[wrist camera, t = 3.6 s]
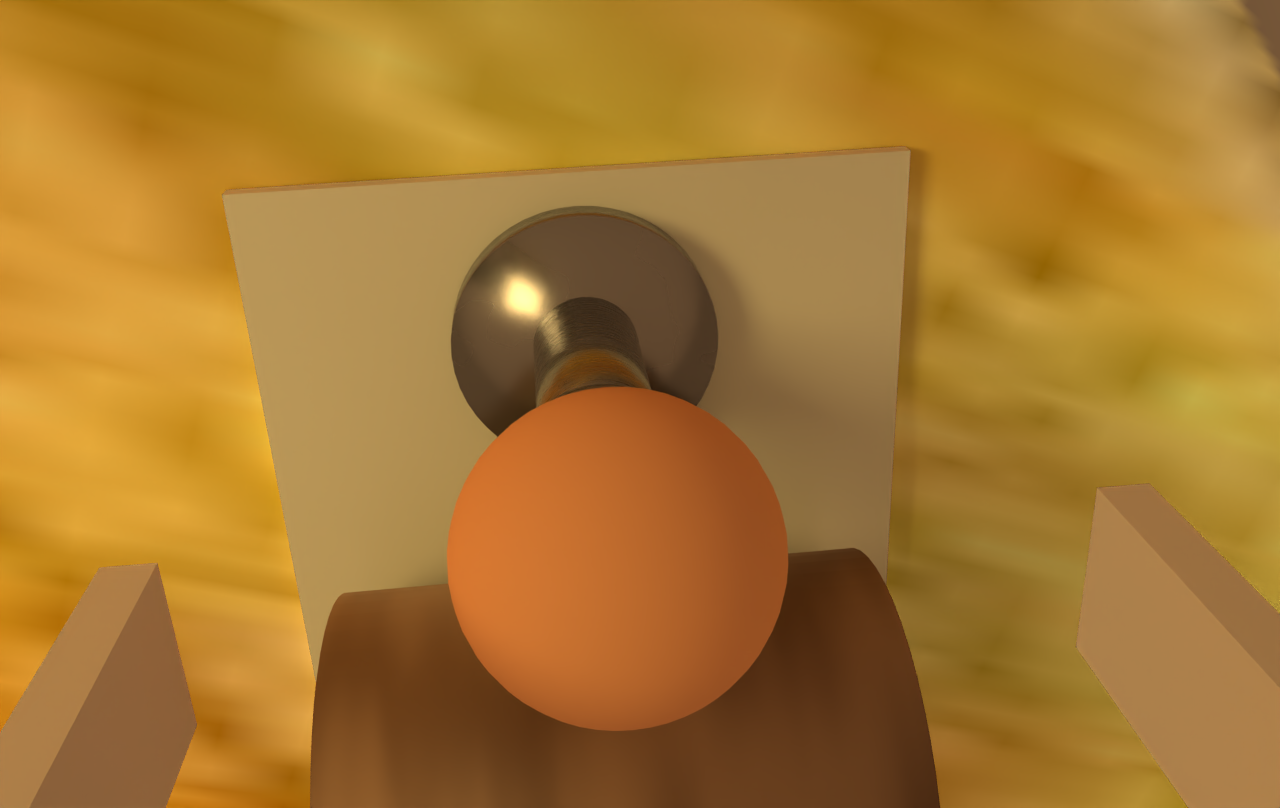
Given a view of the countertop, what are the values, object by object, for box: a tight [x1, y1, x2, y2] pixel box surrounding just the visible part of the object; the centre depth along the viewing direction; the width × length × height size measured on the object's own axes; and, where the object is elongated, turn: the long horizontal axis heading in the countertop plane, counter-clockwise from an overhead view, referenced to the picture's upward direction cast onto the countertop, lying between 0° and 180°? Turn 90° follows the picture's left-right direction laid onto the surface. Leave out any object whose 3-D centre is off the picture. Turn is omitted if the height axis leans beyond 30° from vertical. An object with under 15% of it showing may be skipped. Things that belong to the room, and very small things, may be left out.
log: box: [310, 548, 940, 808], centre depth 25 cm, size 11×9×9 cm
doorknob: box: [451, 206, 718, 437], centre depth 23 cm, size 6×6×6 cm
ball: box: [447, 387, 788, 731], centre depth 18 cm, size 5×5×5 cm
